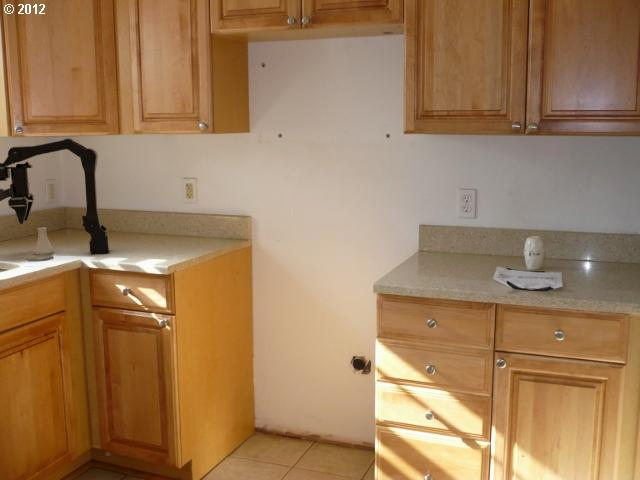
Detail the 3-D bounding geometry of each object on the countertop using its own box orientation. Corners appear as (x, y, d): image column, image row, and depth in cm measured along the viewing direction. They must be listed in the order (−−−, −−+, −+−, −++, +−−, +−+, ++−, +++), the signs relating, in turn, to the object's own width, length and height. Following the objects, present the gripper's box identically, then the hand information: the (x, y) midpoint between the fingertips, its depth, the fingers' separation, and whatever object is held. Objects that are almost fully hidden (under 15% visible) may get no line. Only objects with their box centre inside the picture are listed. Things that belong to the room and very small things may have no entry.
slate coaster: (54, 255, 268) (54, 253, 268) (51, 260, 260) (51, 258, 259) (29, 257, 266) (29, 255, 266) (25, 261, 257) (25, 259, 257)
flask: (29, 254, 272) (27, 228, 270) (45, 251, 278) (43, 226, 276) (43, 256, 268) (41, 229, 267) (58, 252, 275) (56, 227, 273)
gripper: (1, 179, 271) (5, 219, 273) (-9, 183, 253) (-5, 226, 255) (32, 178, 273) (36, 218, 276) (24, 182, 255) (28, 225, 258)
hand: (23, 222), depth 266 cm, fingers open, 9 cm apart
